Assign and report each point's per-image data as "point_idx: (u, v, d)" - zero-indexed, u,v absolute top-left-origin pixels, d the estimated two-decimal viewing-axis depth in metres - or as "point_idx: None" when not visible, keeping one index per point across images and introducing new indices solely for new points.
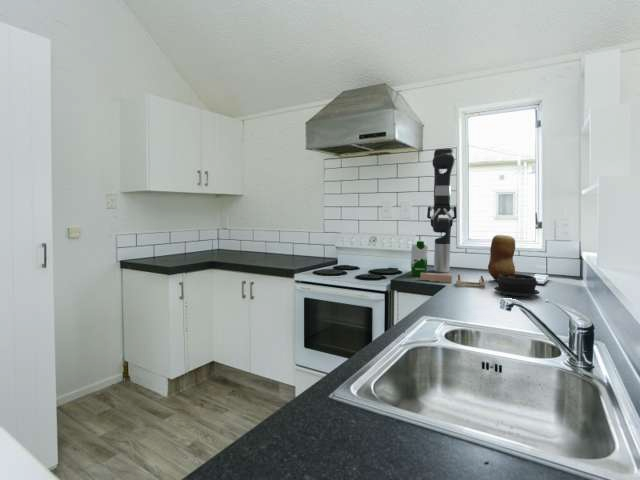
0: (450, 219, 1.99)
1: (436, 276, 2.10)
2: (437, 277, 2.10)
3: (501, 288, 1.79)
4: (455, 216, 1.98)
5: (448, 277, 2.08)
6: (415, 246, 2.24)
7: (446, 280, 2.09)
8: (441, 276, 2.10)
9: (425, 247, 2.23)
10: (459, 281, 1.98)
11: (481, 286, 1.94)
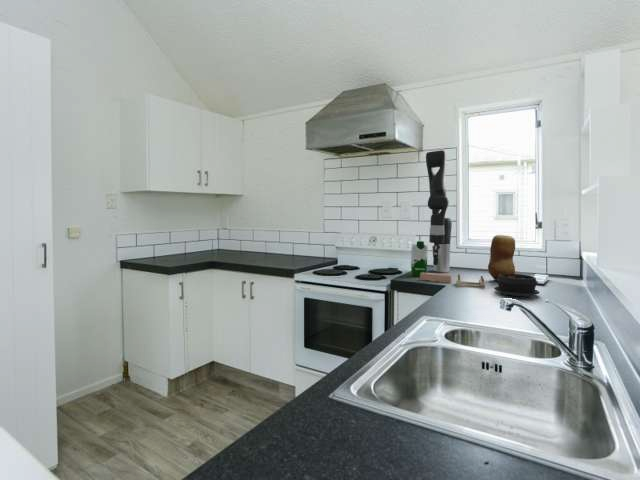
0: (437, 256, 2.15)
1: (436, 276, 2.11)
2: (437, 277, 2.10)
3: (501, 288, 1.79)
4: None
5: (447, 277, 2.08)
6: (415, 246, 2.24)
7: (445, 280, 2.08)
8: (440, 276, 2.09)
9: (425, 247, 2.23)
10: (459, 281, 1.98)
11: (481, 286, 1.94)
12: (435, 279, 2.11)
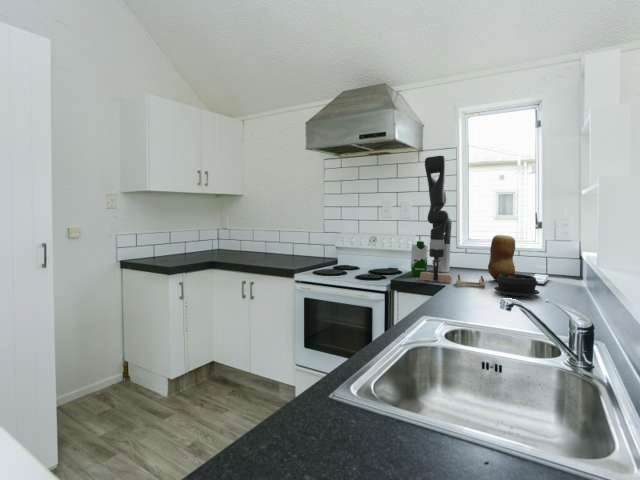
0: (437, 271, 2.14)
1: None
2: None
3: (501, 288, 1.79)
4: None
5: (447, 277, 2.07)
6: (415, 246, 2.24)
7: (445, 280, 2.08)
8: (440, 276, 2.09)
9: (425, 247, 2.23)
10: (459, 281, 1.98)
11: (481, 286, 1.94)
12: None
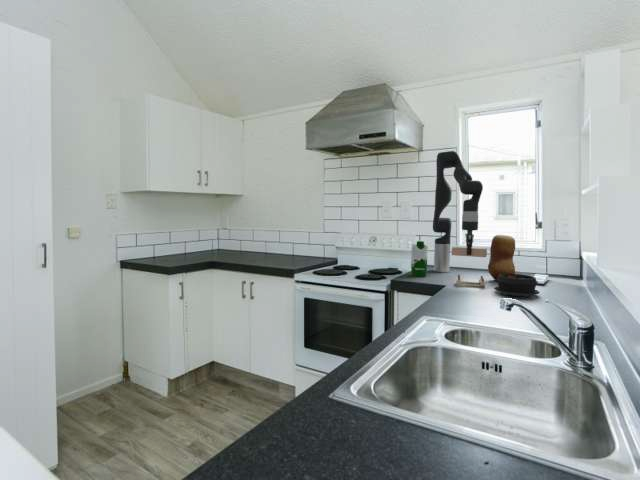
0: None
1: None
2: None
3: (501, 288, 1.79)
4: (471, 243, 2.04)
5: (481, 251, 1.95)
6: (415, 246, 2.24)
7: (479, 254, 1.95)
8: (474, 250, 1.96)
9: (425, 247, 2.23)
10: (459, 281, 1.98)
11: (481, 286, 1.94)
12: None
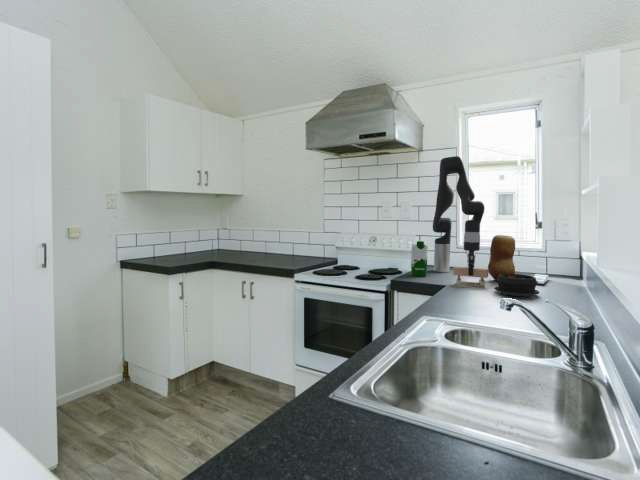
0: None
1: None
2: None
3: (501, 288, 1.79)
4: None
5: (483, 271, 1.95)
6: (415, 246, 2.24)
7: (481, 275, 1.96)
8: (476, 270, 1.97)
9: (425, 247, 2.23)
10: (459, 281, 1.98)
11: (481, 286, 1.94)
12: None
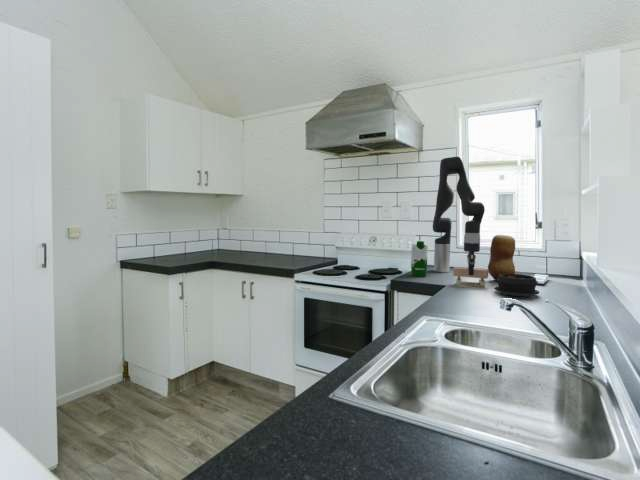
0: None
1: None
2: None
3: (501, 288, 1.79)
4: None
5: (483, 272, 1.95)
6: (415, 246, 2.24)
7: (481, 275, 1.96)
8: (476, 271, 1.97)
9: (425, 247, 2.23)
10: (459, 281, 1.98)
11: (481, 286, 1.94)
12: None
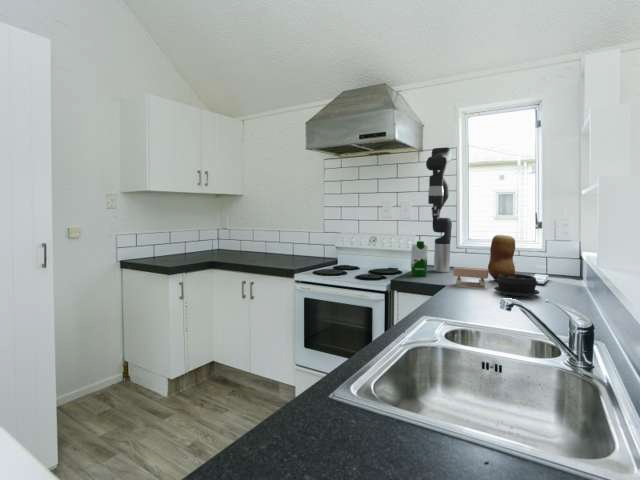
0: None
1: (470, 271, 1.98)
2: (472, 272, 1.98)
3: (501, 288, 1.79)
4: None
5: (483, 272, 1.95)
6: (415, 246, 2.24)
7: (481, 275, 1.96)
8: (476, 271, 1.97)
9: (425, 247, 2.23)
10: (459, 281, 1.98)
11: (481, 286, 1.94)
12: (470, 274, 1.98)
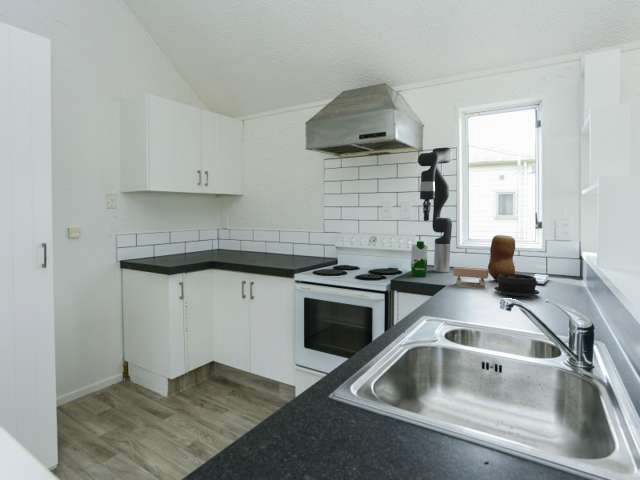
0: (428, 213, 2.18)
1: (470, 271, 1.98)
2: (472, 272, 1.98)
3: (501, 288, 1.79)
4: (429, 210, 2.19)
5: (483, 272, 1.95)
6: (415, 246, 2.24)
7: (481, 275, 1.96)
8: (476, 271, 1.97)
9: (425, 247, 2.23)
10: (459, 281, 1.98)
11: (481, 286, 1.94)
12: (470, 274, 1.98)
